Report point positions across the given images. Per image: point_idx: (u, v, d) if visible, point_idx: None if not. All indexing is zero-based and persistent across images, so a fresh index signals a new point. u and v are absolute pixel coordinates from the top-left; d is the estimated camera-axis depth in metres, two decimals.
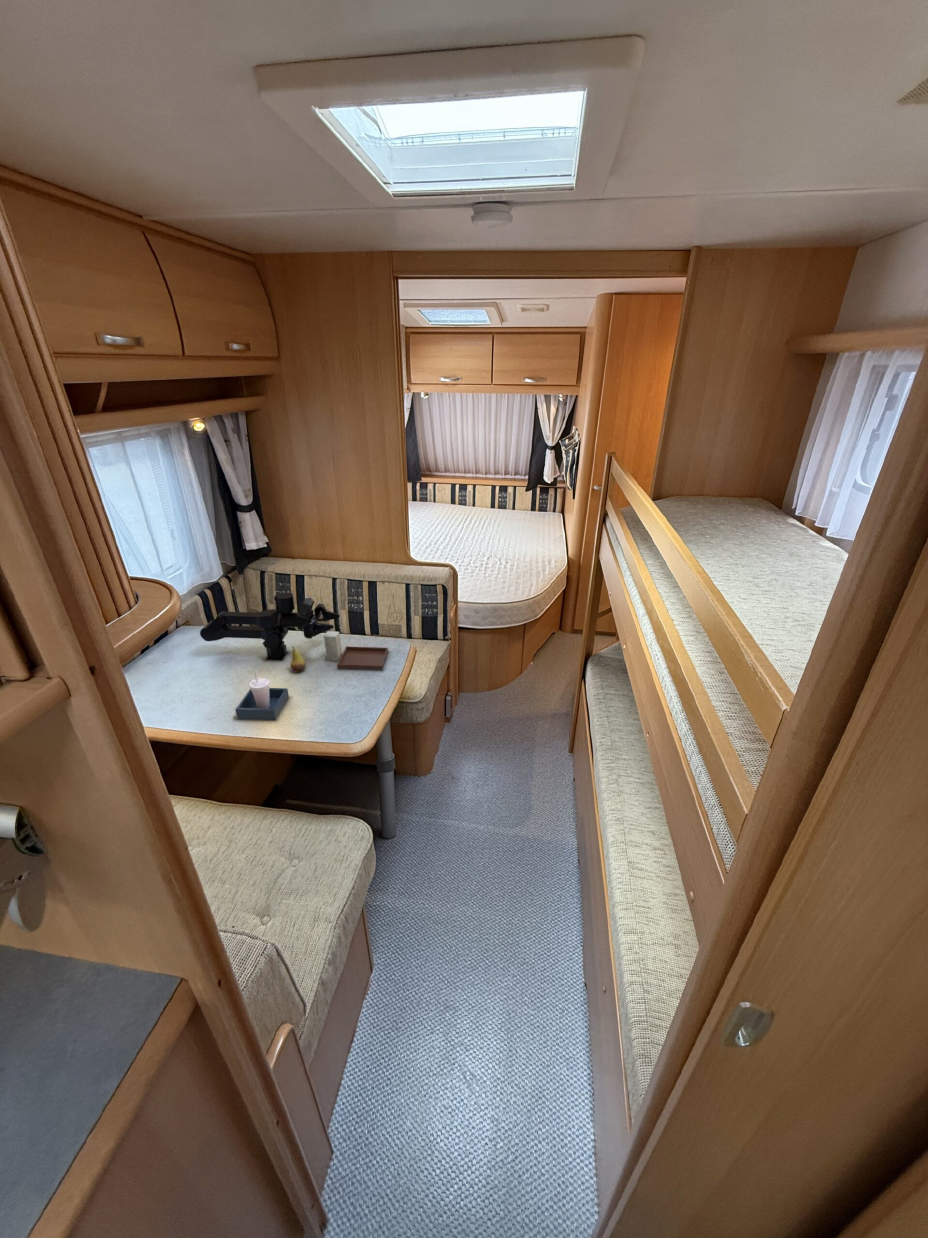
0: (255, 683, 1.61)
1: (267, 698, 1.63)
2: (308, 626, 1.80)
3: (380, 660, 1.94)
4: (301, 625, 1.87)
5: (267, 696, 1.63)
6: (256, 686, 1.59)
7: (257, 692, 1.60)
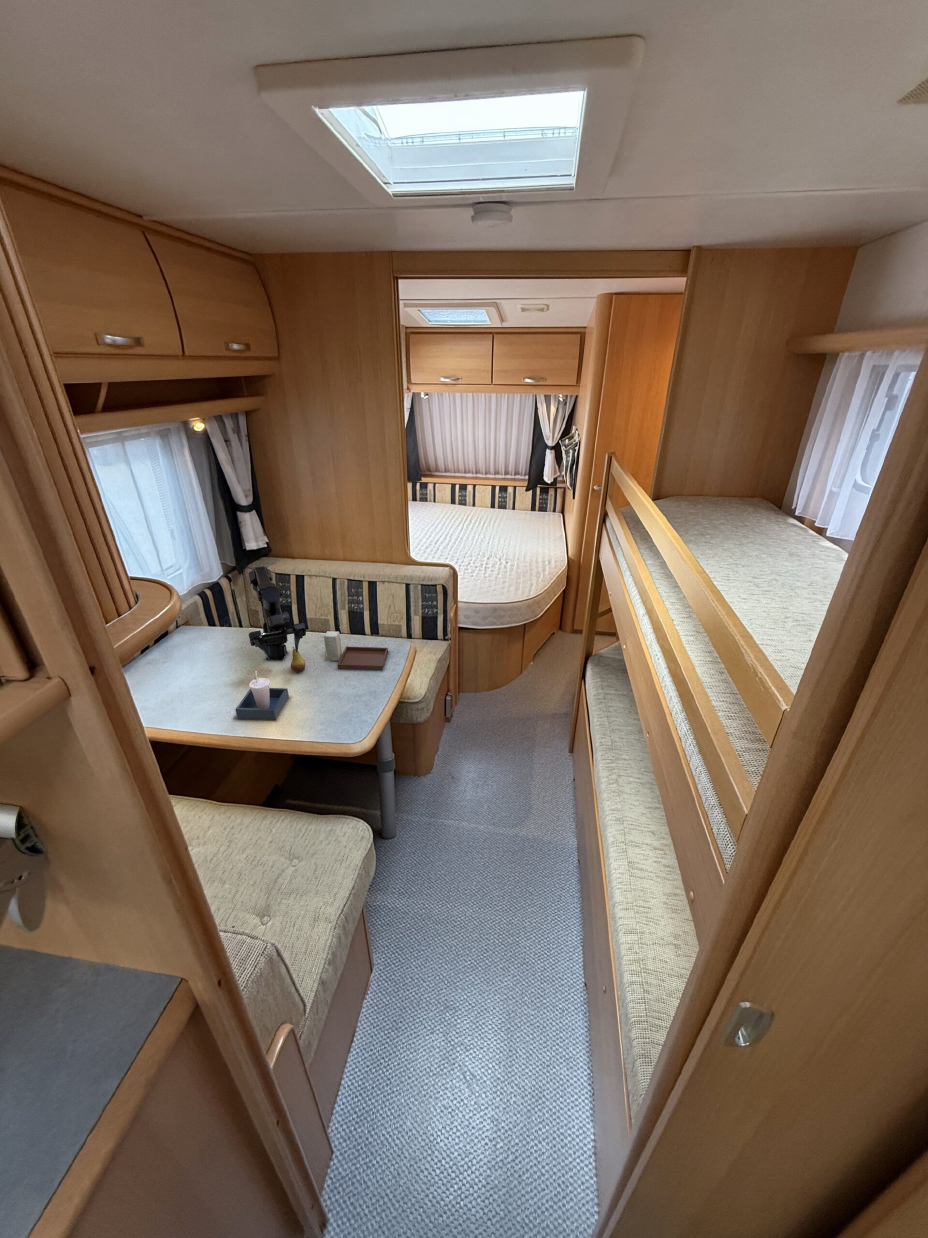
0: (255, 683, 1.61)
1: (267, 698, 1.63)
2: (249, 638, 1.66)
3: (380, 660, 1.94)
4: None
5: (267, 696, 1.63)
6: (256, 686, 1.59)
7: (257, 692, 1.60)
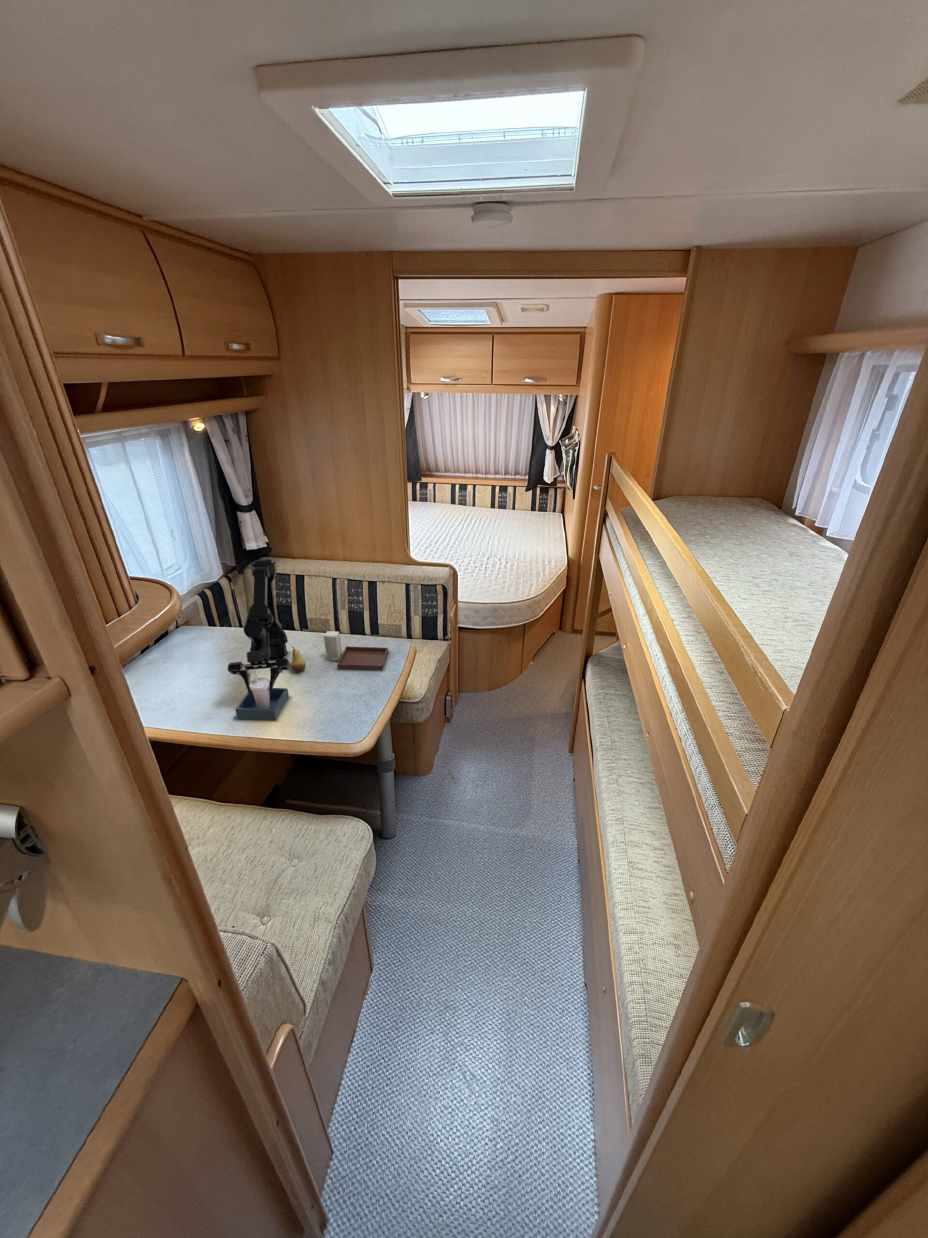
0: (255, 683, 1.61)
1: (267, 698, 1.63)
2: None
3: (380, 660, 1.94)
4: None
5: (267, 696, 1.63)
6: (256, 686, 1.59)
7: (257, 692, 1.60)
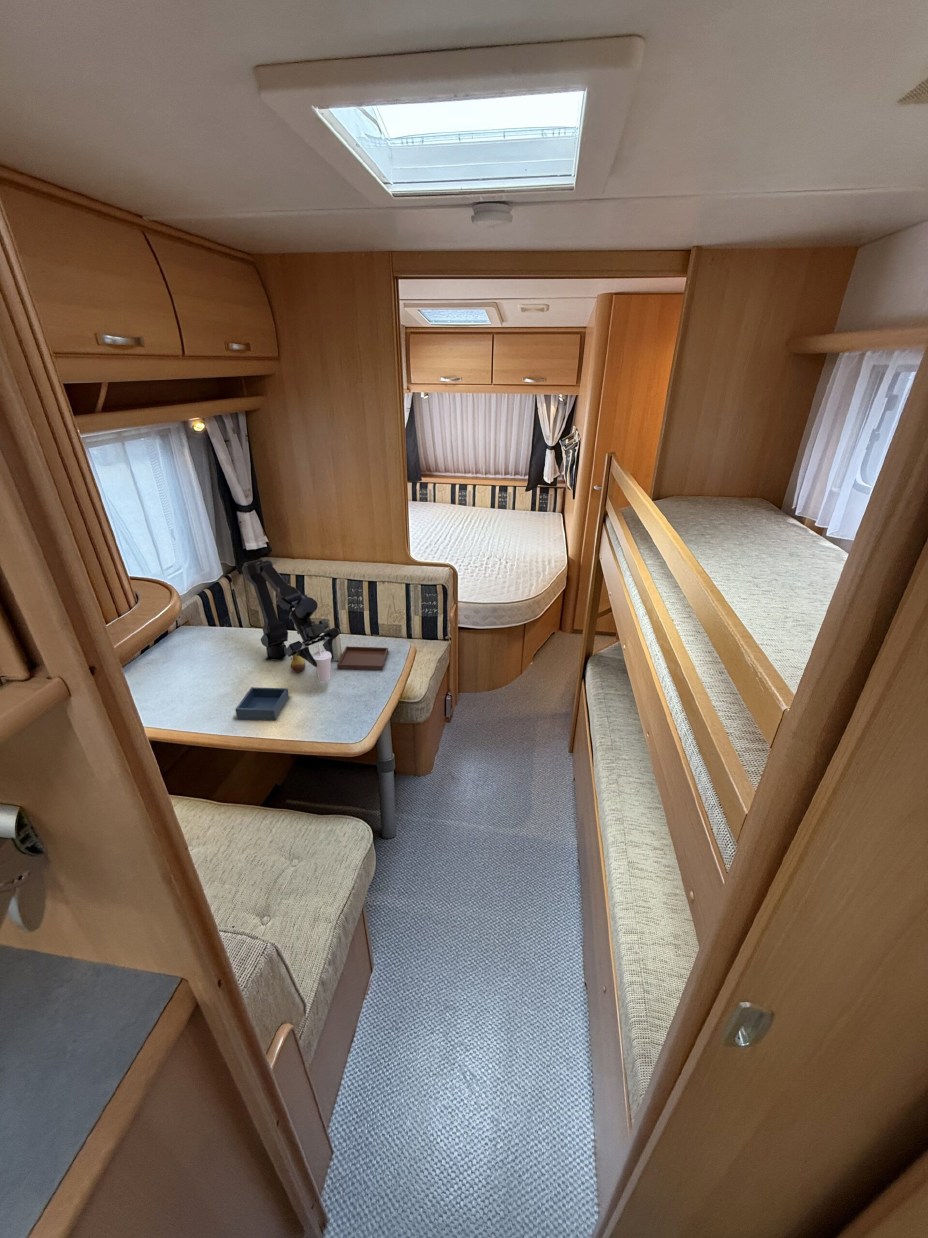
0: (319, 656, 1.68)
1: None
2: (291, 650, 1.62)
3: (380, 660, 1.94)
4: None
5: None
6: (323, 658, 1.68)
7: (326, 663, 1.68)
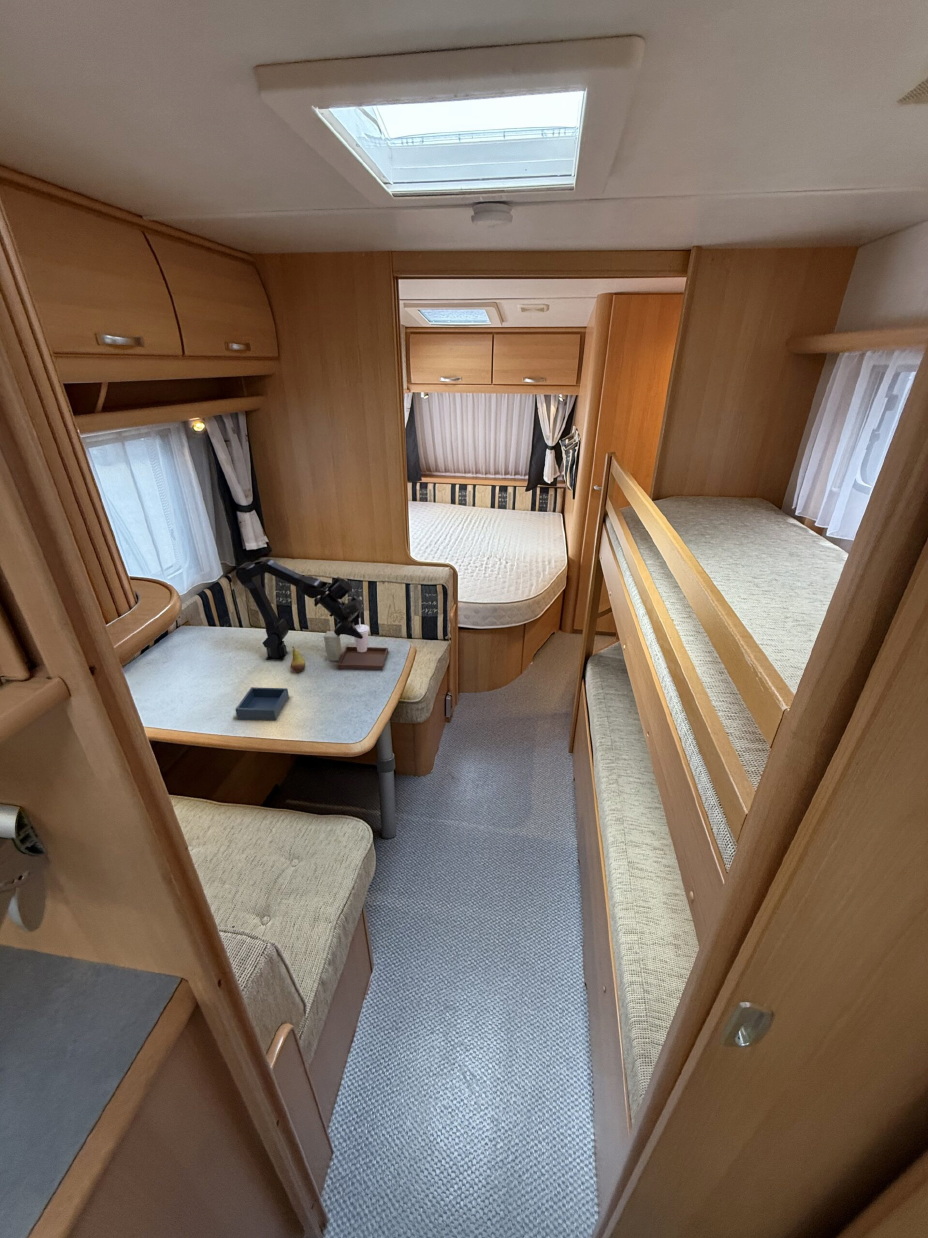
0: (361, 628, 1.87)
1: None
2: (346, 628, 1.78)
3: (380, 660, 1.94)
4: (335, 615, 1.83)
5: None
6: (365, 629, 1.87)
7: (367, 633, 1.88)
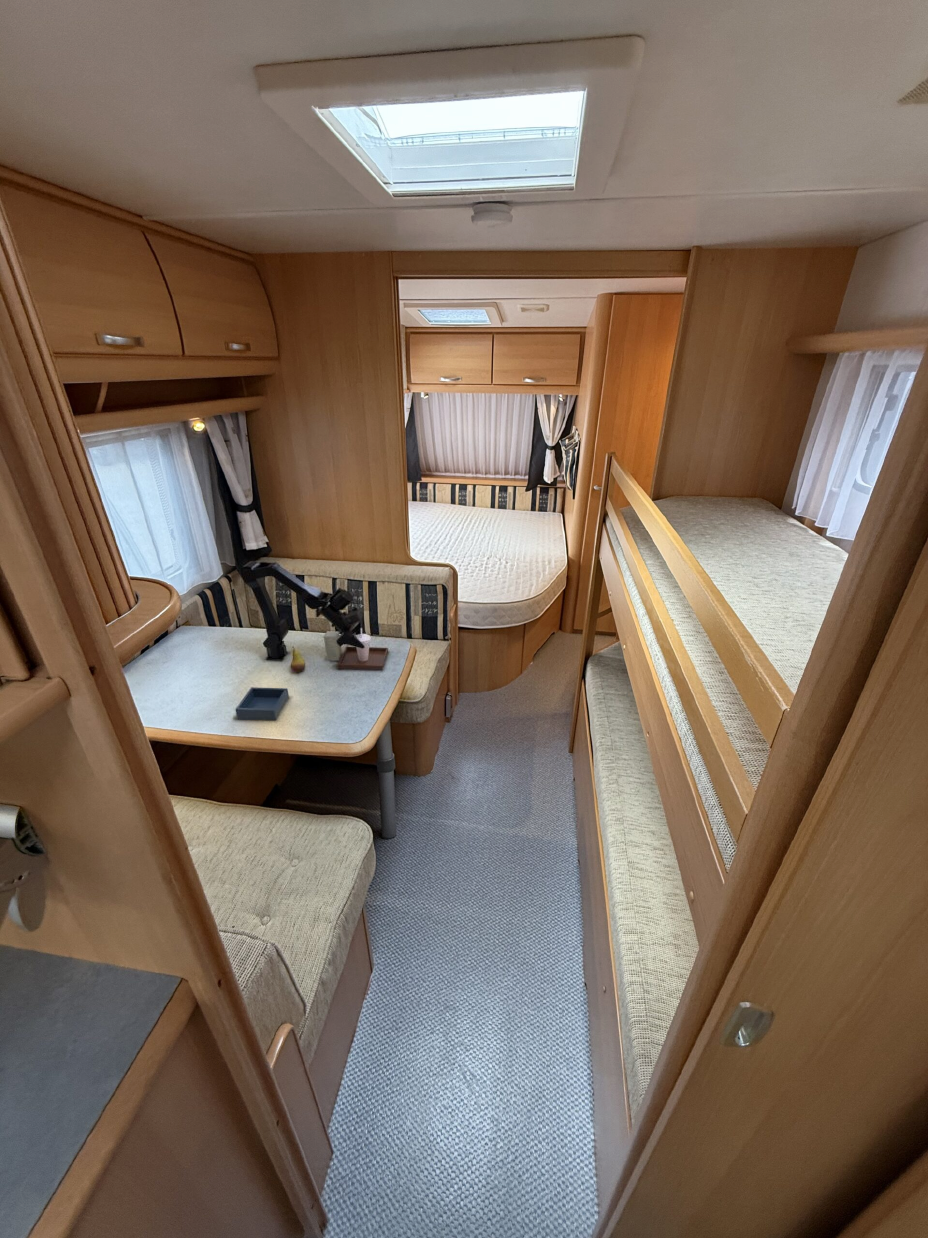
0: (362, 638, 1.90)
1: None
2: (348, 638, 1.80)
3: (380, 660, 1.94)
4: (337, 626, 1.86)
5: None
6: (366, 638, 1.90)
7: (369, 642, 1.91)
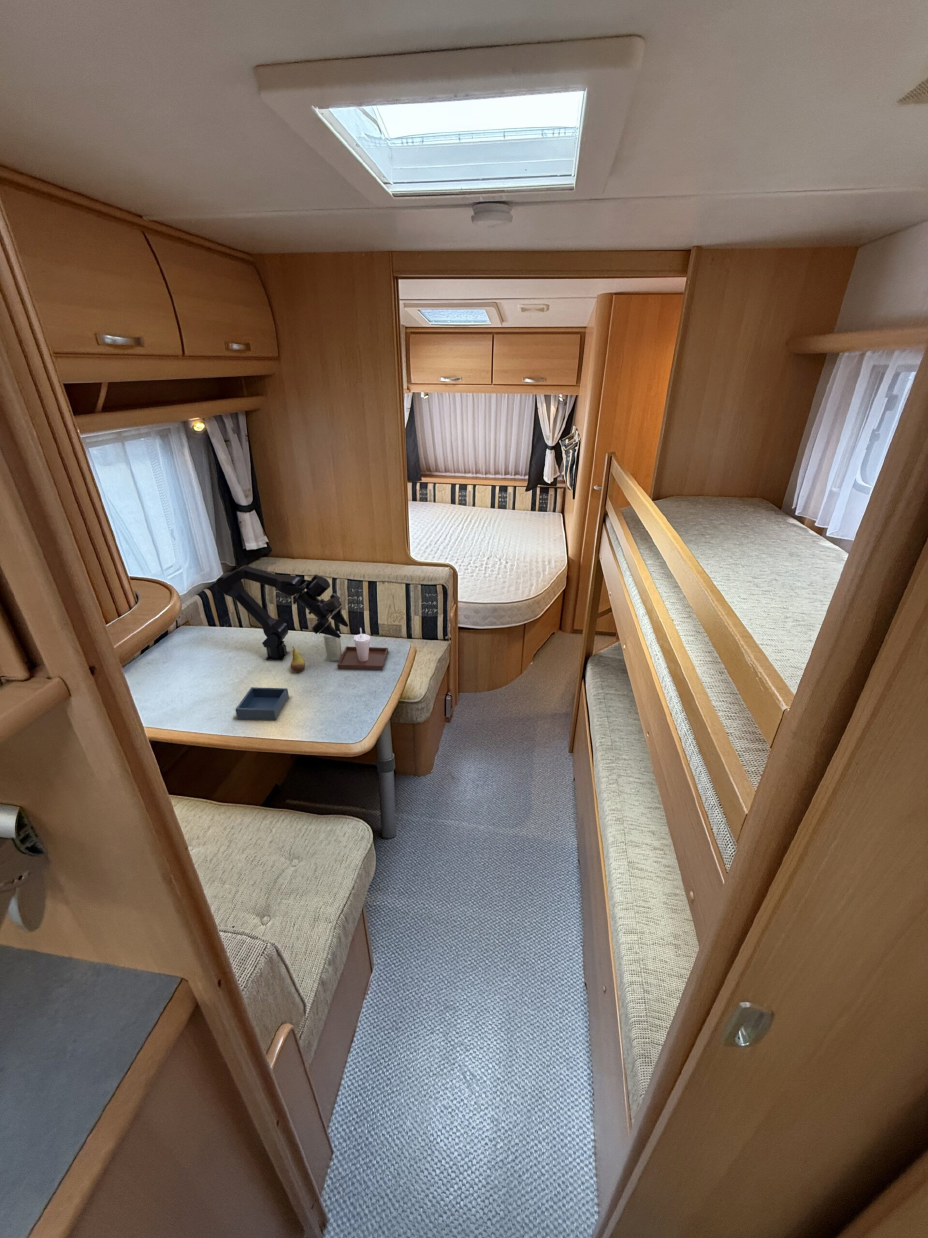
0: (362, 638, 1.90)
1: None
2: (323, 625, 1.77)
3: (380, 660, 1.94)
4: (314, 613, 1.83)
5: None
6: (366, 638, 1.90)
7: (368, 642, 1.91)
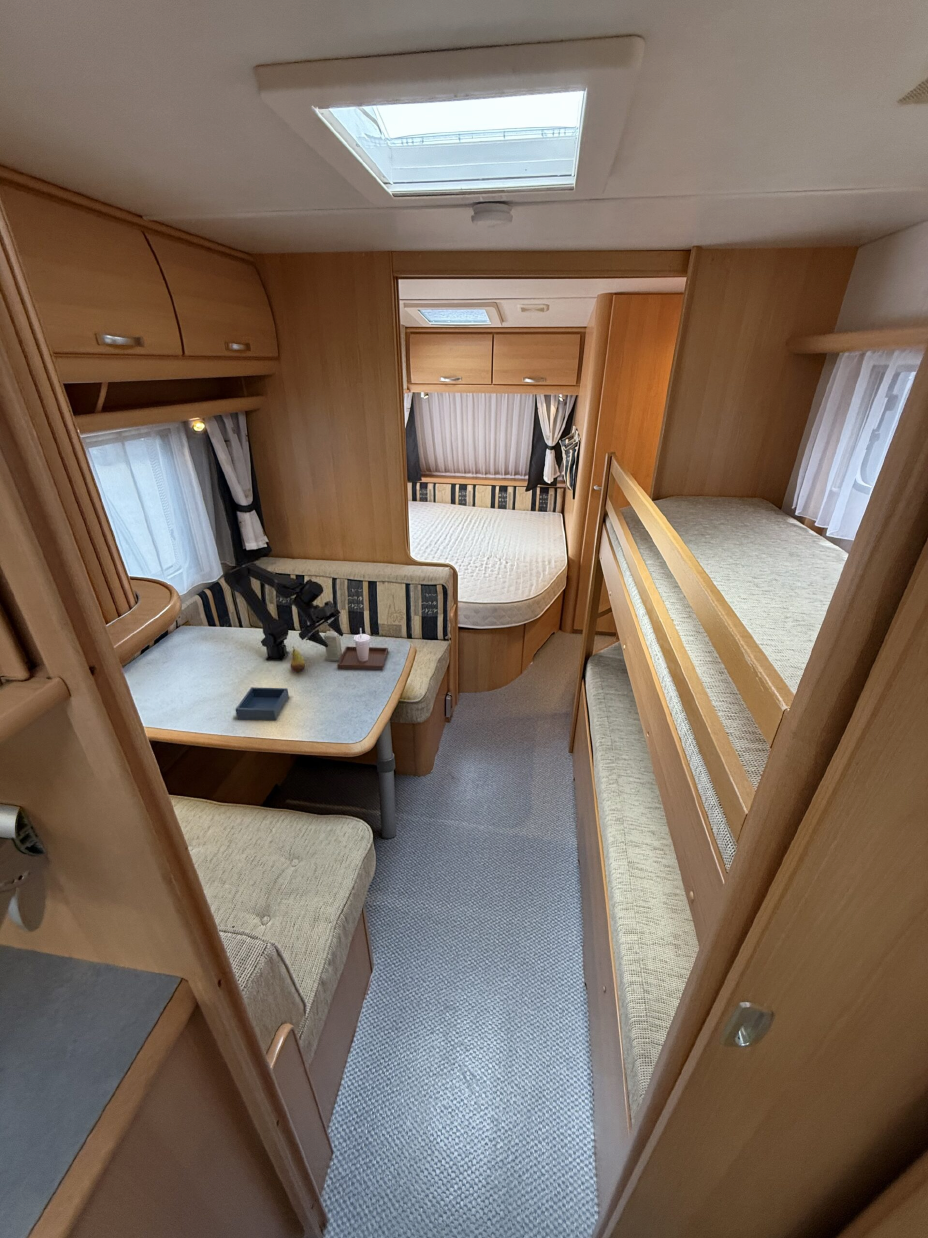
0: (362, 638, 1.90)
1: None
2: (308, 633, 1.71)
3: (380, 660, 1.94)
4: (306, 618, 1.78)
5: None
6: (366, 638, 1.90)
7: (368, 642, 1.91)
